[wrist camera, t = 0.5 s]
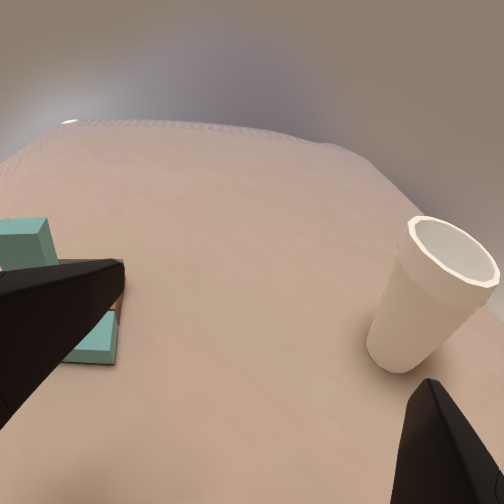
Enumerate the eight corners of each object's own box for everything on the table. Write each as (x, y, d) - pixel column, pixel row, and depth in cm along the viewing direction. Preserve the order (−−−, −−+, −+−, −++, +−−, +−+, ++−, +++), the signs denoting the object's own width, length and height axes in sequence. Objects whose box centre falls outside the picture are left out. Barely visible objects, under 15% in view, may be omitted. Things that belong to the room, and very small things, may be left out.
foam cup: (379, 399, 23) (463, 296, 16) (336, 325, 30) (386, 216, 23) (442, 368, 26) (513, 277, 19) (400, 309, 33) (450, 217, 26)
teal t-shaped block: (114, 363, 22) (80, 252, 16) (0, 353, 20) (-56, 253, 13) (118, 325, 26) (95, 214, 19) (11, 320, 23) (-32, 220, 16)
